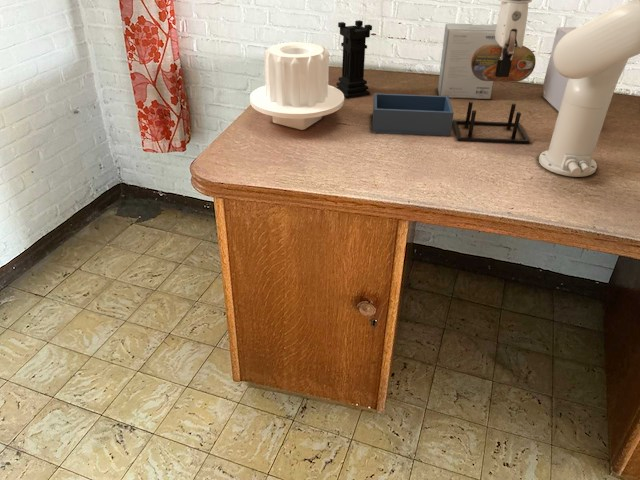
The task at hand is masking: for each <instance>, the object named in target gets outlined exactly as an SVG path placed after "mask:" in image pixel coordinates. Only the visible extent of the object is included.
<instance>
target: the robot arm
mask: <svg viewBox="0 0 640 480" xmlns="http://www.w3.org/2000/svg"><path fill="white" fill-rule="evenodd" d="M532 1H533V0H498V2H500V5H499V10H498V14H497V19H496V20H497V21H496V24H497V25H496V31H495V39H496V41H497V42H498V45H500V46H501V52H500V58H499V60H498V62H497V67H496V72H495V76H496V77H508V76H509V73H510V68H511V63H512V58H513V54H514V47H515V45H516V46H517V47H518V48H521V47H522V46H524V40H525V34H526V28H527V22H528V15H529V14H528V12H529V4H530V3H532ZM506 45H508V46H506ZM504 50H507V51H505V52H504ZM638 55H640V0H629V1H627V2H624V3H621V4H619V5H617V6H614V7H613V8H611V9H609V10H607V11H605V12H603V13H601V14H599V15H598V16H596V17H594V18H592V19H591V20H589V21H587V22H585V23H583V24H582V25H579V26H578V27H577V28H576V29H574V30H572V31H570V32H569V33H567V34H566V35H565V36H563V37H562V38H561V40H560V41H559V42H558V44H557V45H556V47H555V50H554V54H553V63H554V66H555V69H556V70H557V71H558V73H559V74H561V75H562V76H564V77H566V78H569V80H568V83H567V85H566V88H565V92H564V95H563V99H562V102H561V106H560V110H559V111H558V114H557V116H556V121H555V124H554V128H553V132H552V135H551V139H550V142H549V147H548V149H547V150H545V151H542V152H541V153H540V155H539V157H538V163H539V164H540V165H541V166H542V167H543V168H544V169H546V170H547V171H549V172H551V173H553V174H557V175H560V176H564V177H571V178H572V177H573V178H581V177H583V178H584V177H588V176H591V175H593V174H594V173H595V172H596V171H597V167H598V164H597V162H596V161H595V160H594V159H593V156H594V153H595V150H596V148H597V145H598V141H599V139H600V135H601V132H602V129H603V125H604V122H605V119H606V118H607V117H606V116H607V113H608V111H609V107H610V105H611V101H612V99H613V96H614V93H615V90H616V87H617V85H618V82H619V80H620V78H621V75H622V74H623V72H624V70H625V67H626V65H627V64H628V61H629V59H631V58H633V57H635V56H638Z"/></svg>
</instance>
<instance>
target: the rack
mask: <svg viewBox="0 0 640 480" xmlns="http://www.w3.org/2000/svg"><path fill="white" fill-rule="evenodd" d="M473 104H474V102H473V101H469V102H468V105H467V109H466V111H467V112H466V117H465V120H459V119H458V120H456V119H453V121H452V126H453V129H454V133H455V137H456V139H457V142H474V143H475V142H477V143H478V142H479V143H500V144H501V143H502V144H521V145H522V144H523V145H529V144H530V139H529V137H528V135H527V133H526V132H525V130H524V128H523V126H522V125H521V122H520V120H521V115H522V112H520V111H517V112H516V115H515V111H516V110H515V109H516V107H517V103H511V105H510V111H509V114H508V115H509V117H508V120H507V122H505V121H504V122H503V121H479V120H476V115H477V110H475V109H474V110H472V109H473ZM514 116H515V119H514ZM513 120H514V122H513ZM458 125H464V128H465V129H468V133H467V136H462V135H461V133H460V129H459V126H458ZM474 126H491V127H493V126H494V127H506V130H507V131H511V129H512V132H511V137H510V138H494V137H472V136H473V132H474ZM512 127H513V128H512ZM517 132H519V134H520V136H521V138H522V139H518V138H517V139H516V137H517Z"/></svg>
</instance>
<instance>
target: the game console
mask: <svg viewBox="0 0 640 480" xmlns="http://www.w3.org/2000/svg"><path fill="white" fill-rule="evenodd" d="M576 28H578V27H576V26H564V27H563V26H558V27H556V31H555V35H554V39H553V43H552V47H551V50H550V55H549V59H548V63H547V68H546V72H545V76H544V79H543V84H542V97H543V98H544V99H545V100H546V101H547V102H548V103H549V104H550V105H551V106H552V107H553V108H554V109H555V110H556V111H557V112H559V110H560V106H561V102H562V99H563V95H564V92H565V88H566V85H567V83H568V80H569V78H566V77H564V76H562V75H561V74H559V73H558V71H557V70H556V69H555V66H554V63H553V54H554V50H555V47H556V45H557V44H558V42H559V41H560V40H561V38H562V37H563V36H565V35H566V34H567V33H569V32H570V31H572V30H574V29H576Z"/></svg>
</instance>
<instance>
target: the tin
mask: <svg viewBox="0 0 640 480" xmlns="http://www.w3.org/2000/svg"><path fill="white" fill-rule="evenodd" d="M506 46H508V45H506ZM505 51H507V50H504V52H505ZM500 52H501V46H500V45H492V44H489V45H484V46H482V47H480V48H479V49H477V50H476V51H475V53H474V54H473V56H472V59H471V69H472V72H473V74H474V75H475V77H477V78H478V79H480V80H482V81H494V82H509V83H510V82H511V83H516V82H517V83H519V82H521V81H524V80H525V79H527V78H529V76H531V74H532V73H533V72H534V70H535V68H536V63H537V62H536V61H537V59H536V55H535V54H534V52H533V51H532V50H531V49H530V48H528V47H527V46H526V45H523V46H522V47H521V48H518V47H517V46H516V45H515V47H514V54H513V58H512V63H511V68H510V73H509V76H508V77H496V76H495V72H496V67H497V62H498V60H499V58H500Z"/></svg>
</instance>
